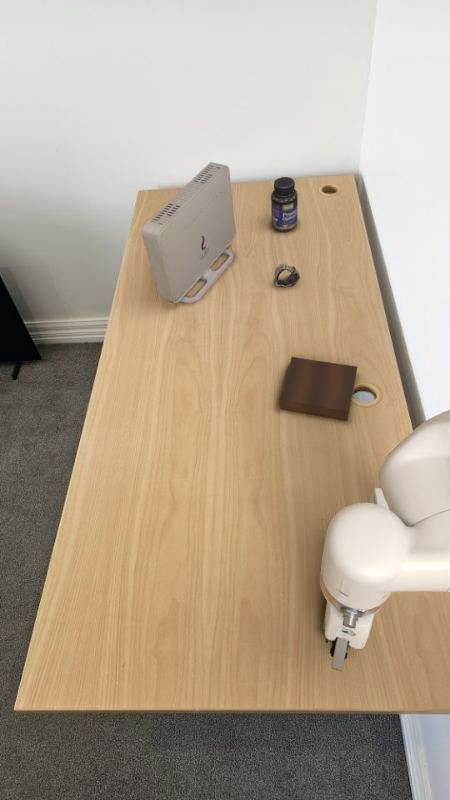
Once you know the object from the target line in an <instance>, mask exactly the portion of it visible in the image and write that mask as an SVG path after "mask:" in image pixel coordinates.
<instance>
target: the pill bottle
mask: <svg viewBox="0 0 450 800" xmlns="http://www.w3.org/2000/svg"><path fill="white" fill-rule="evenodd" d="M295 187H296V182H295V180H294V179H293V178H292V177H289V176H281V177H278V178H276V179H275V180H274V182H273V191H272V192H271V195H270V203H271V204H270V207H271V226H272V228H273V229H274V230H275V231H278V232H280V233H286V232H290V231H293V230H294V229H295V228H296V227H297V225H298V200H299V199H298V197H299V194H298V191H297V189H295Z"/></svg>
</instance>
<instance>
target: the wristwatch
mask: <svg viewBox="0 0 450 800" xmlns="http://www.w3.org/2000/svg"><path fill="white" fill-rule="evenodd" d="M284 271H288V272H289V273H290V274H289V275H288V277H285V278H284V279H279V278H280V275H281V274H282V273H283V272H284ZM300 279H301V276H300V271H299V270H298V269H297V267H296V266H295V265H293V266H291V265H289V264H286V263H281V264H279V266H277V267H276V268H275V270H274V278H273V282H274V284H275V285H276V286H277V287H284V288H287V287H292V286H295V285H296V284H297V283H298V282H299V281H300Z"/></svg>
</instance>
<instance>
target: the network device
mask: <svg viewBox="0 0 450 800" xmlns="http://www.w3.org/2000/svg"><path fill="white" fill-rule="evenodd" d="M230 170H231V169H230V167H229V166H228V165H226V164H221V163H217V162H214V161H213V162H212V161H210V162H209V163H208V164H206V165H205V167H203V168H202V169H201V170H200V171H199V172H198V173H197V174H196V175H195V176H194V177H193V178H192V179H191V180H189V182H188V183H186V184H185V185H184V186H183V187H182V188H181V189H180V190H179V191H178V192H177V193H176V194H175V195H173V196H172V198H171V199H170V200H169V201H167V202H166V204H165V205H163V206H162V207H161V208H160V209H159V210H158V211H157V212H156V213H155V214H154V215H153V216H152V217H150V219H149V220H148V221H147V222H146V223H144V225H143V226H142V229H141V237H142V241H143V244H144V247H145V251H146V255H147V258H148V261H149V265H150V268H151V272H152V275H153V281H154V282H155V283H154V284H155V287H156V290H157V294H158V297H159V298H160V299H162V300H165V301H168V302H170V303H173V304H178V303H180V302H181V303H184V304H192V303H195V302H198V301H200V299H201V298H202V297H203V296H204V295H205V294H206V293H207V291H208V290H209V289H210V288H211V287H212V286H213V285H214V283H215V282H216V281H217V280H218V279H219V277H221V275H222V274H223V273H224V272H225V271H226V269H227V268H228V267H229V266H230V265H231V263H233V261H234V253H233V251H231V250H230V249H228V247H229V246H230V245H231V244H232V243H233V241H234V240H235V238H236V234H237V230H236V220H235V219H236V218H235V213H234V212H235V209H234V200H233V189H232V181H231V172H230ZM221 255H226V256H228V258H227V259H226V260H225V261H224V263H223V264H221V266H220V267H219V268H218V269H216V270H212V269H211V267H212V265H213V264H214V263H215V262H216V261H217V260H218V259H219V258H220V256H221ZM199 280H203V281H205V282H206V283H205V284H204V285H203V287H202V288H201V289H200V290H199V291H198V292H197V294H195V295H194V296H192V297H189V296H186V295H187V293H189V291H190V290H191V289H192V288H193V287H194V286H195V285H196V283H198V282H199Z"/></svg>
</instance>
